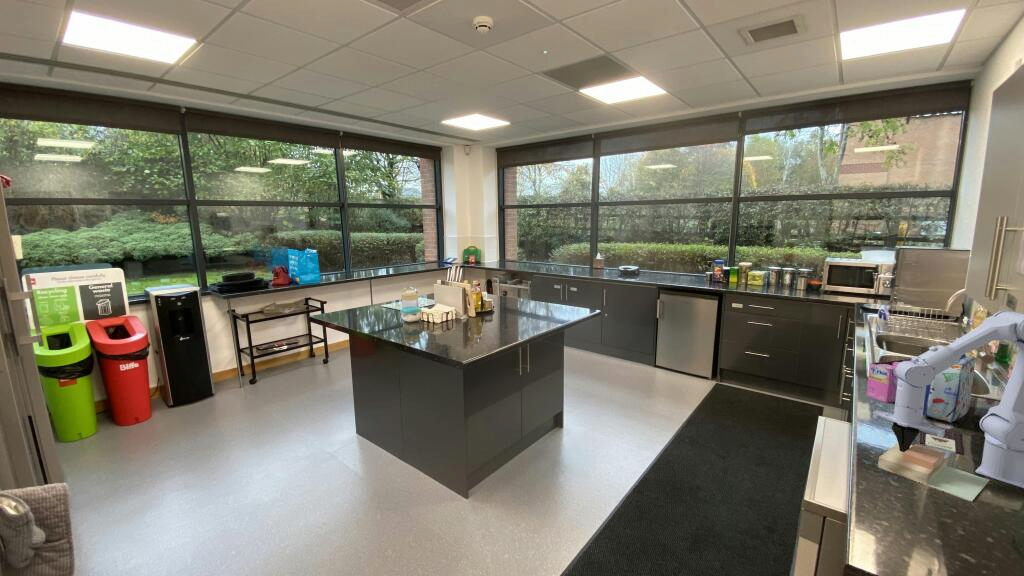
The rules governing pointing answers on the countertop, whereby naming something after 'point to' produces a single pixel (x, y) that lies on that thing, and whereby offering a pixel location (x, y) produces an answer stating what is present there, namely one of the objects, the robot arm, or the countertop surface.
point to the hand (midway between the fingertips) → (904, 451)
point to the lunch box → (950, 391)
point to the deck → (908, 466)
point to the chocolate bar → (943, 441)
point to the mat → (958, 483)
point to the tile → (923, 456)
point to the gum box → (883, 380)
